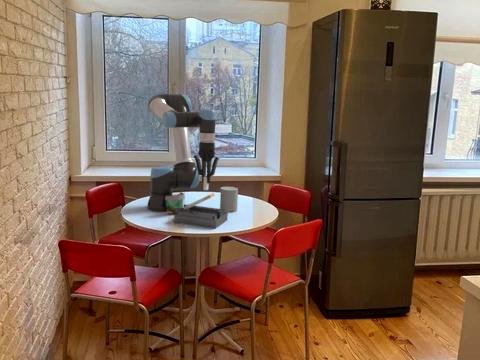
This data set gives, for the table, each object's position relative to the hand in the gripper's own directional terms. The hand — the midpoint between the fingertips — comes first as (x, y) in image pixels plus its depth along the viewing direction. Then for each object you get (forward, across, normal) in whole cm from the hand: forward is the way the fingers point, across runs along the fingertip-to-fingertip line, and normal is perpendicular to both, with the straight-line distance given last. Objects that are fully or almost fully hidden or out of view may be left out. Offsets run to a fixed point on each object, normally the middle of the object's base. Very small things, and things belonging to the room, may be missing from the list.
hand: (205, 189), depth 232 cm
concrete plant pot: (+17, +3, +26) cm, 31 cm away
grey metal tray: (+16, -2, 0) cm, 17 cm away
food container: (+16, -19, +8) cm, 27 cm away
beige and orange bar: (+8, -4, 0) cm, 9 cm away
